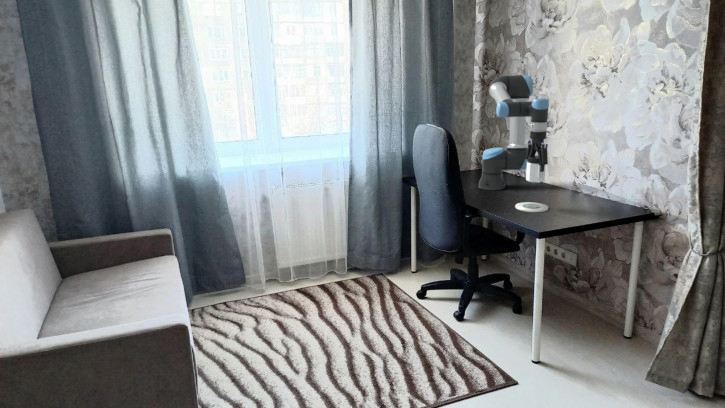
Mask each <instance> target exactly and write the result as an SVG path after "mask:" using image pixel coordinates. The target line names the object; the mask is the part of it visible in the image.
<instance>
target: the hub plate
mask: <svg viewBox="0 0 725 408" xmlns="http://www.w3.org/2000/svg"><path fill="white" fill-rule="evenodd" d="M514 208H515V209H516V210H518V211H521V212H525V213H543V212H544V213H545V212H547V211H548V210H549V206H548V205H547V204H544V203H540V202H534V201H533V202H531V201H525V202H518V203H516V204H515V206H514Z"/></svg>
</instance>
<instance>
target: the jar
mask: <svg viewBox="0 0 725 408" xmlns="http://www.w3.org/2000/svg"><path fill="white" fill-rule="evenodd" d="M538 164H540V163H539V157H538V155H535V156H529V157H528V162H527V168H526V169H525V170H526V171H525V173H526V174H525V180H526V181H527V182H529V183H541V182H545V177H546V166H547V164H546V165H545V167H544V178H538V166H539V165H538Z"/></svg>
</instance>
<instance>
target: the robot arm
mask: <svg viewBox="0 0 725 408" xmlns="http://www.w3.org/2000/svg"><path fill="white" fill-rule="evenodd" d="M533 91H534V85H533V80H532V77H531V76H530V75H528V74H517V75H516V74H515V75H514V74H513V75H501V76H497V77H496V78H493V80H492V81H491V82H490V84H489V85H488V94H489V96H490V97H491V98H492V99H494V101H495V103H496V109H495V110H496V111H495V112H496V117H498V118H503V119H504V118H509V144H508V145H507V146H506V149H505V150H504V148H503V147H492V148H488V149H485V150H484V151H483V153H482V159H481V160H482V164H481V165H482V168H481V177H480V179H479V181H478V188H479V189H481V190H485V191H501V190H504V189H505V188H506V187H505V186H506V185H505V181H504V176H503V171H523V170H526V169H527V162H528V157H529V156H536V153H537V156H538V157H539V163H540V164H538V165H539V166H538V178H544V167H545V165H546V166H547V165H548V164H549V161H548V159H549V158H548V146H549V144H548V143H545V140H546V139H547V132H548V131H547V130H548V114H549V107H550V105H549V99H548V98H544V97H540V98H533V99H532V100H531V101H530V97H532V96H533V93H534V92H533ZM528 117H529V118H530V117H531V118H530V131H529V139H530V140H528V141H527V145H526V144H525V143H526V119H527V118H528ZM545 168H546V167H545Z"/></svg>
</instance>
